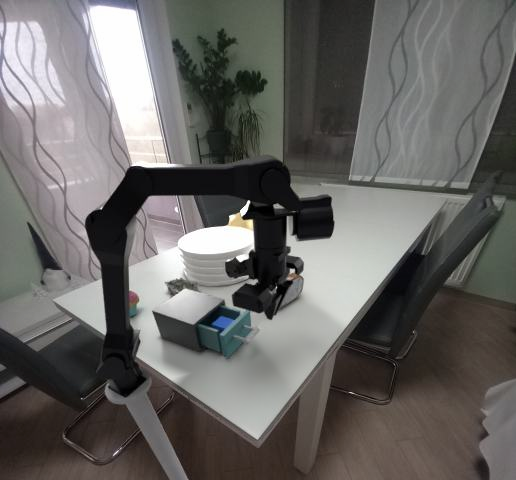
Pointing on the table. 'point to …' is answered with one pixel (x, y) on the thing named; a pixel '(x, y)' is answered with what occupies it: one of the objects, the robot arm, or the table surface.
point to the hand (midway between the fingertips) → (271, 317)
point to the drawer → (226, 330)
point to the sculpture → (240, 222)
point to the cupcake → (133, 302)
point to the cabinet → (185, 317)
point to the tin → (293, 288)
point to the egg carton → (180, 285)
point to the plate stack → (214, 253)
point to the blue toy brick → (222, 324)
